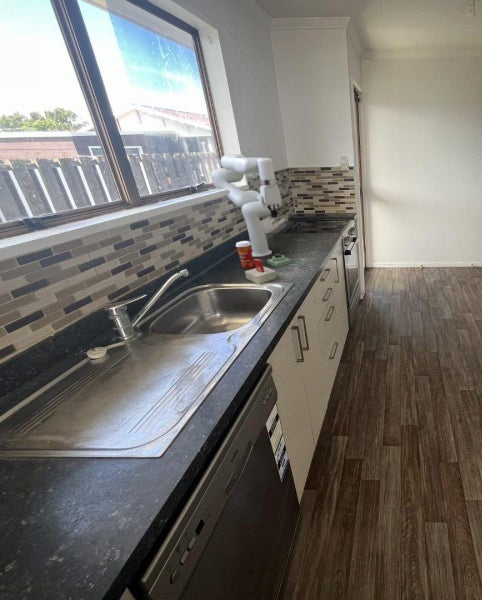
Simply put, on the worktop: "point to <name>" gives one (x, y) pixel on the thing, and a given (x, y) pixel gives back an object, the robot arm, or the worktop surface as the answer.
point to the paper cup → (245, 253)
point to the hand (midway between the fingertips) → (274, 217)
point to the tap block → (261, 275)
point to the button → (278, 255)
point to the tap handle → (259, 265)
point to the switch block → (278, 261)
